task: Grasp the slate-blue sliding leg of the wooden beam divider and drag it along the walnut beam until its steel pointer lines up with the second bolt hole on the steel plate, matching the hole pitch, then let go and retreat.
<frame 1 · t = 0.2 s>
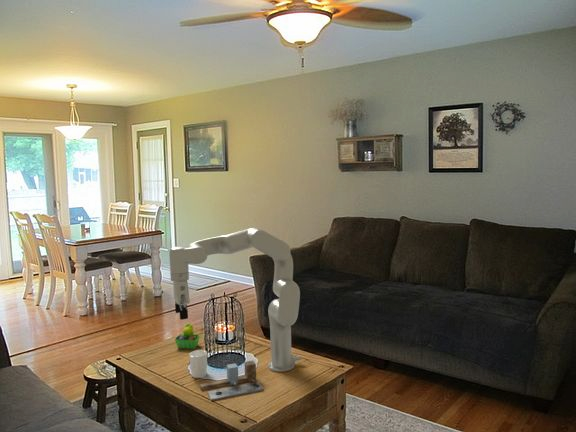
hand: (181, 315, 202), 31 cm above the table, tool pointing down, fingers open, 9 cm apart
bolt plate: (235, 391, 197), on the table
sliding leg: (233, 375, 204), point 4 cm above the table, slide at 0.0 cm
white cup: (199, 375, 214), on the table
fruit basket: (188, 346, 248), on the table
beam: (228, 383, 205), on the table
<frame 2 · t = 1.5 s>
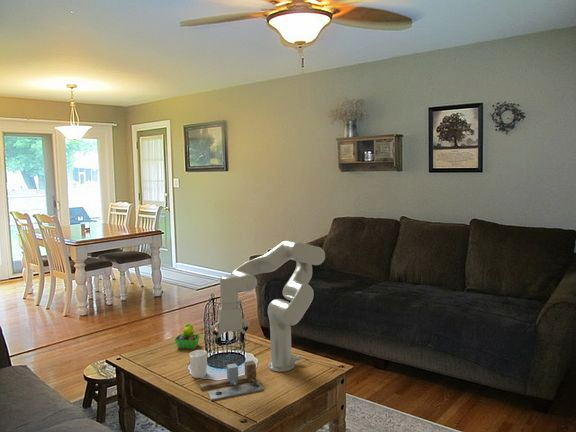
hand: (230, 343, 204), 18 cm above the table, tool pointing down, fingers open, 9 cm apart
nothing on the table moved.
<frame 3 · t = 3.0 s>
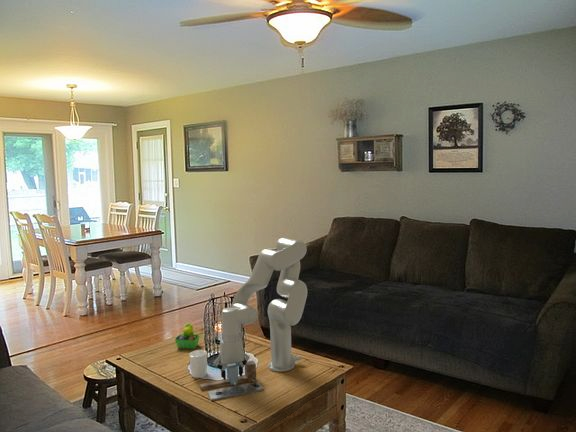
hand: (232, 376, 205), 3 cm above the table, tool pointing down, fingers open, 6 cm apart
nothing on the table moved.
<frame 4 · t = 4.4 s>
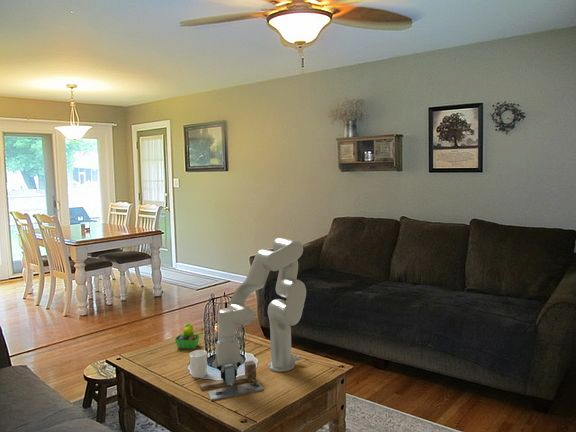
hand: (229, 378, 205), 2 cm above the table, tool pointing down, fingers closed on sliding leg, 4 cm apart
sliding leg: (229, 375, 204), point 4 cm above the table, slide at 1.6 cm, touching gripper
everything else where it was.
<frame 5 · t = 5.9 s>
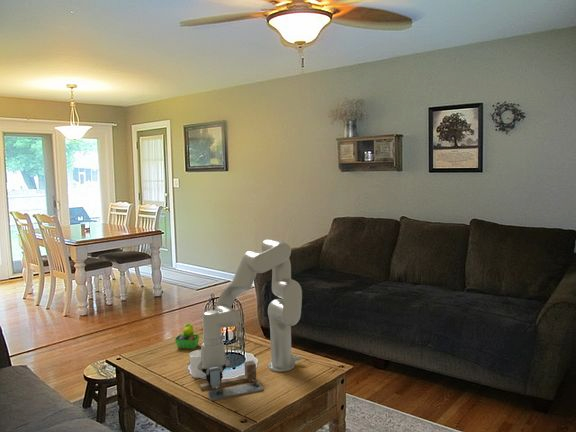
hand: (214, 381, 203), 2 cm above the table, tool pointing down, fingers closed on sliding leg, 4 cm apart
sliding leg: (214, 378, 201), point 4 cm above the table, slide at 8.0 cm, touching gripper
everything else where it was.
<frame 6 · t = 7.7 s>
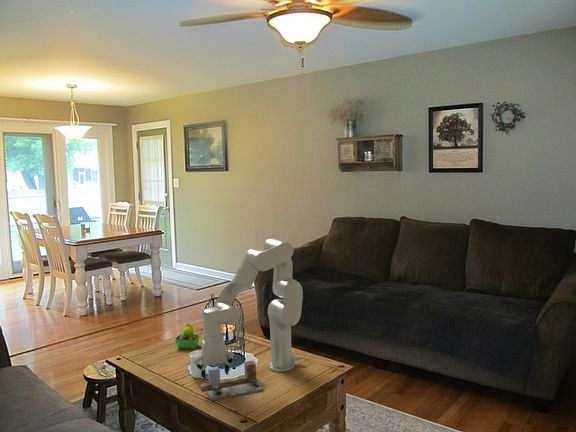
hand: (215, 375, 203), 4 cm above the table, tool pointing down, fingers open, 9 cm apart
sliding leg: (214, 378, 201), point 4 cm above the table, slide at 8.0 cm
everything else where it was.
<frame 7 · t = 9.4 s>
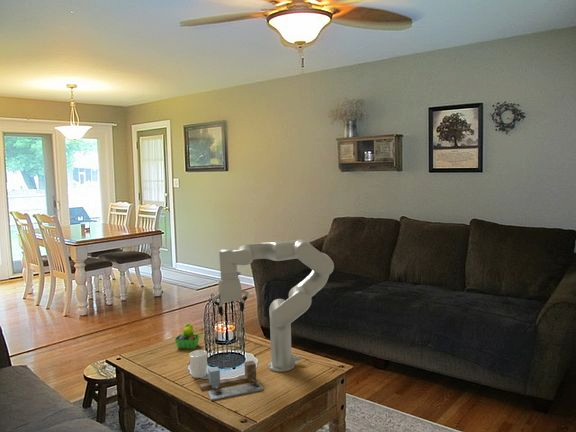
hand: (231, 312, 216), 27 cm above the table, tool pointing down, fingers open, 9 cm apart
nothing on the table moved.
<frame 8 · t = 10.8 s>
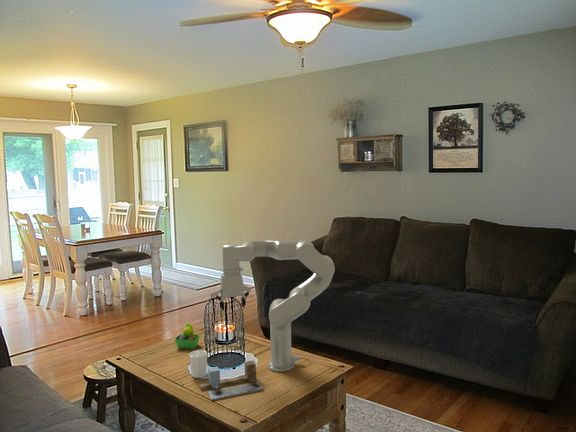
hand: (233, 308, 218), 28 cm above the table, tool pointing down, fingers open, 9 cm apart
nothing on the table moved.
at the end: sliding leg slide at 8.0 cm; the gripper is holding nothing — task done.
